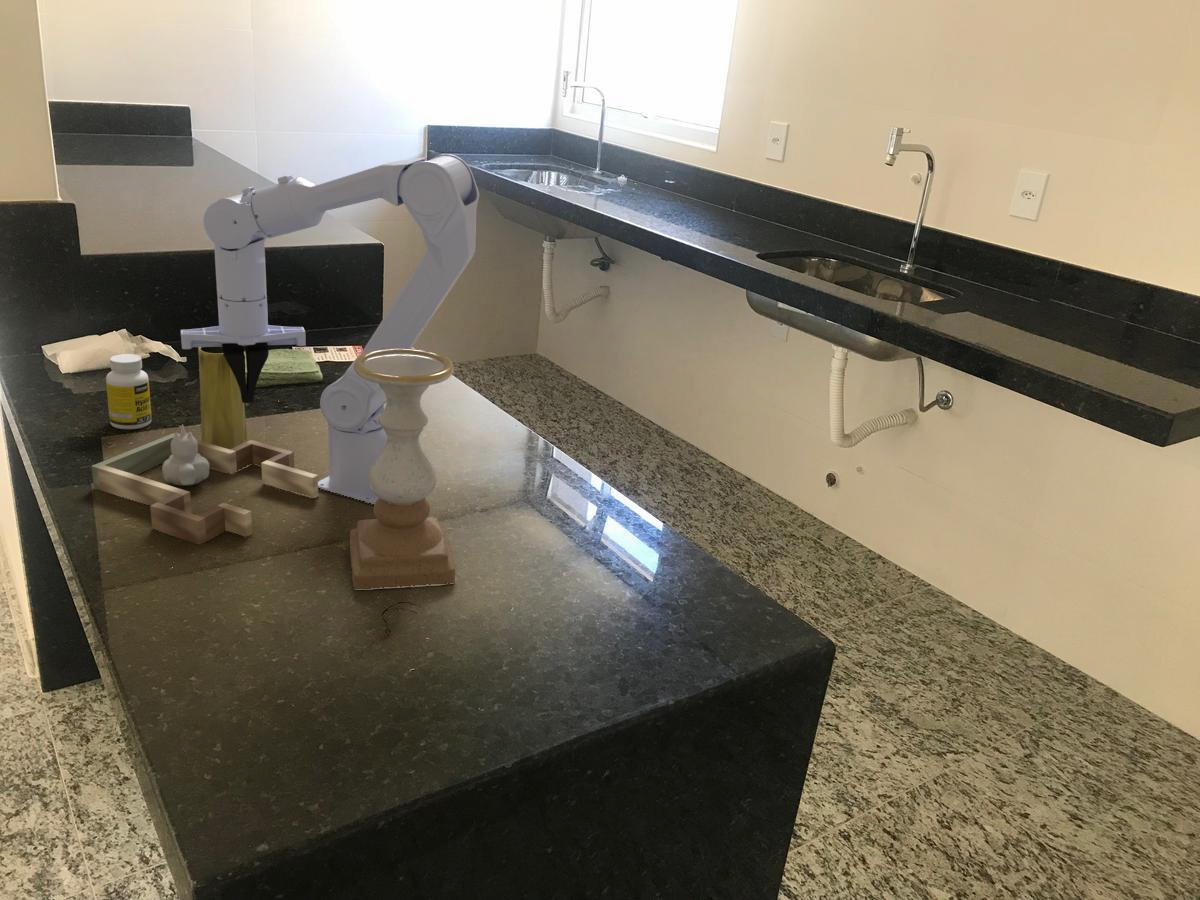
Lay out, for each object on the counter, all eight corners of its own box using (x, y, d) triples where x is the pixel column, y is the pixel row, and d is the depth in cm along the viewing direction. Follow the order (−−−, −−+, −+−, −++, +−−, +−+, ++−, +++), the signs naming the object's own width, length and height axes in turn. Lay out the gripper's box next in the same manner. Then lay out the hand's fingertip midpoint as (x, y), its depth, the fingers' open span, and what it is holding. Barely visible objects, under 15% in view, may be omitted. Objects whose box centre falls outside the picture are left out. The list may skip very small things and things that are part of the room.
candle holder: (353, 591, 104) (351, 379, 94) (349, 542, 113) (347, 345, 104) (456, 585, 107) (464, 379, 97) (443, 538, 116) (450, 346, 107)
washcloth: (326, 385, 162) (326, 367, 160) (213, 393, 154) (212, 374, 152) (310, 361, 172) (309, 343, 171) (203, 367, 164) (202, 349, 163)
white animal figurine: (208, 472, 126) (204, 415, 123) (212, 494, 121) (208, 435, 118) (162, 476, 124) (157, 418, 121) (165, 498, 119) (159, 438, 116)
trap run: (338, 485, 127) (337, 464, 125) (220, 552, 108) (219, 528, 107) (197, 444, 134) (195, 424, 133) (65, 500, 116) (62, 477, 115)
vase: (218, 459, 130) (211, 357, 125) (192, 445, 134) (184, 346, 128) (257, 447, 135) (253, 349, 130) (231, 434, 138) (225, 338, 133)
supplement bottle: (142, 432, 136) (135, 365, 133) (103, 428, 136) (95, 362, 132) (158, 418, 141) (153, 354, 138) (121, 415, 141) (114, 350, 137)
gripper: (178, 305, 113) (187, 414, 118) (307, 303, 119) (310, 407, 124) (177, 290, 119) (185, 394, 124) (300, 289, 125) (303, 389, 130)
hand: (247, 399), depth 124 cm, fingers closed
